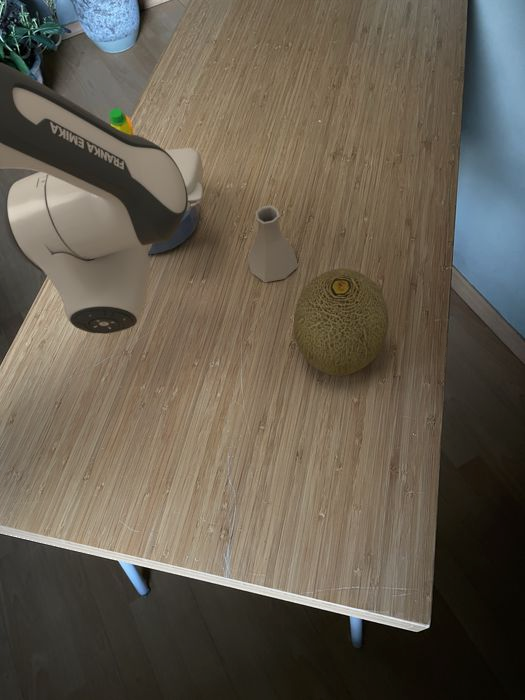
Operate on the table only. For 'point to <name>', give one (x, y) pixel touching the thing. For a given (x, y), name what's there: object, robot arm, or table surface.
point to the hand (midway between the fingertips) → (128, 139)
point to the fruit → (340, 321)
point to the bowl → (179, 232)
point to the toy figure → (121, 121)
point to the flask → (271, 248)
